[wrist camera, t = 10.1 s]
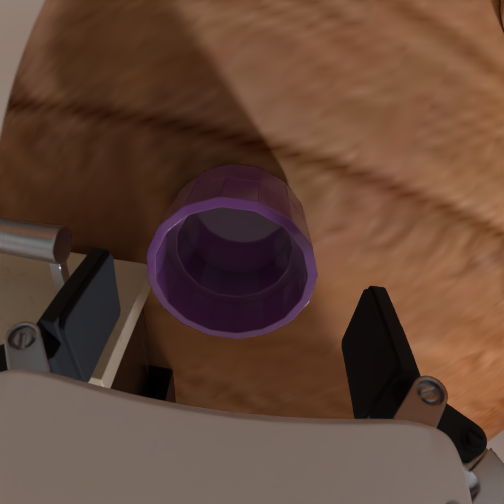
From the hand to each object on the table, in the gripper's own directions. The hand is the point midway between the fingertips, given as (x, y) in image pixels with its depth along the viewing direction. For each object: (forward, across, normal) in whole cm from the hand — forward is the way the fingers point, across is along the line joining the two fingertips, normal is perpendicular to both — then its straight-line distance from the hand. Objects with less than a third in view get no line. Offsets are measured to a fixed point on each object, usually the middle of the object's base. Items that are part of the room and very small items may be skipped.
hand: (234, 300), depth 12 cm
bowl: (+6, 0, 0) cm, 6 cm away
